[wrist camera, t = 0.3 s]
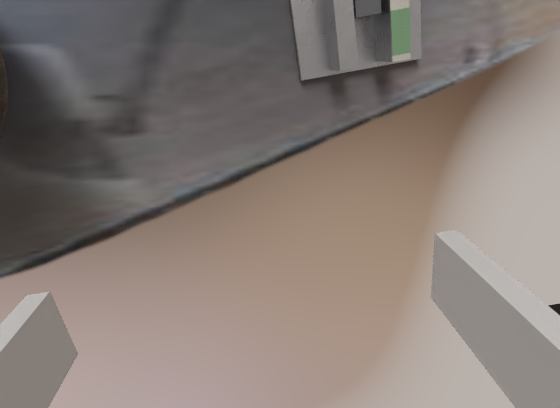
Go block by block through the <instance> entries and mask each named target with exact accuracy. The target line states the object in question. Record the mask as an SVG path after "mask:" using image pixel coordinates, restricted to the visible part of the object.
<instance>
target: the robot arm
mask: <svg viewBox="0 0 560 408" xmlns="http://www.w3.org/2000/svg"><path fill="white" fill-rule="evenodd" d="M434 239H435V240H434V256H433V274H432V291H431V298H432V299H433V301H434V302H435V303H436V305H437V306H438V307H439V309H440V310H441V311H442V312H443V314H444V315H445V316H446V318H447V319H448V320H449V321H450V323H451V324H452V326H453V327H454V328H455V329H456V331H457V332H458V333H459V335H460V336H461V337H462V339H463V340H464V341H465V342H466V344H467V345H468V346H469V348H470V349H471V350H472V352H473V353H474V354H475V356H476V357H477V358H478V359H479V361H480V362H481V363H482V365H483V366H484V367H485V369H486V370H487V371H488V372H489V374H490V375H491V376H492V378H493V379H494V380H495V382H496V383H497V384H498V386H499V387H500V388H501V389H502V391H503V392H504V393H505V395H506V396H507V397H508V399H509V400H510V401H511V402H512V404H513V405H514V406H515V408H560V304H555V305H549V306H548V305H547V304H545V303H544V302H543V301H542V300H541V299H539V298H538V297H537V296H536V295H534V294H533V293H532V292H531V291H529V290H528V289H527V288H526V287H525V286H524V285H522V284H521V283H520V282H519V281H518V280H516V279H515V278H514V277H513V276H512V275H510V274H509V273H508V272H507V271H505V270H504V269H503V268H502V267H501V266H499V265H498V264H497V263H496V262H495V261H493V260H492V259H491V258H490V257H489V256H487V255H486V254H485V253H484V252H482V251H481V250H480V249H479V248H478V247H477V246H475V245H474V244H473V243H472V242H471V241H469V240H468V239H467V238H466V237H464V236H463V235H462V234H461V233H459V232H458V231H457V230H451V231H445V232H438V233H435V238H434ZM77 355H78V353H77V351H76V349H75V346H74V344H73V342H72V340H71V337H70V335H69V333H68V331H67V328H66V326H65V324H64V322H63V320H62V317H61V315H60V313H59V311H58V308H57V306H56V304H55V302H54V300H53V297H52V295H51V293H50V292H44V293H37V294H30V295H26V296H25V297H24V298H23V300H22V301H21V302H20V303H19V304H18V305H17V306H16V307H15V308H14V309H13V311H12V312H11V313H10V314H9V315H8V316H7V317H6V318H5V320H4V321H3V322H2V323H1V324H0V408H48V407H49V405H50V403H51V402H52V400H53V398H54V396H55V394H56V392H57V391H58V389H59V387H60V385H61V384H62V382H63V380H64V378H65V376H66V375H67V373H68V371H69V369H70V367H71V365H72V364H73V362H74V360H75V358H76V356H77Z"/></svg>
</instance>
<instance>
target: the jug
mask: <svg viewBox="0 0 560 408" xmlns="http://www.w3.org/2000/svg"><path fill="white" fill-rule="evenodd" d="M7 109H8V78H7V72H6V67H5V62H4V58H3V55H2V52H1V49H0V136H1V134H2V131H3V128H4V125H5V121H6V116H7Z"/></svg>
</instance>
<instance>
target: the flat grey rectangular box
mask: <svg viewBox="0 0 560 408" xmlns="http://www.w3.org/2000/svg"><path fill="white" fill-rule="evenodd" d="M289 1H290V9H291V16H292V23H293V30H294V38H295V45H296V52H297V60H298V67H299V74H300V80H307V79H313V78H318V77H324V76H329V75H335V74H340V73H346V72H351V71H356V70H362V69H367V68H373V67H378V66H384V65H389V64H395V63H400V62H405V61H411V60H416V59H421V0H381V12H382V13H380V14H377V15H373V16H368V17H363V18H357V19H354V7H353V0H289Z"/></svg>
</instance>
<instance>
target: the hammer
mask: <svg viewBox="0 0 560 408" xmlns="http://www.w3.org/2000/svg"><path fill="white" fill-rule="evenodd" d="M353 7H354V19H357V18H363V17H368V16H373V15H377V14H380V13H382V12H381V0H353Z"/></svg>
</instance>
